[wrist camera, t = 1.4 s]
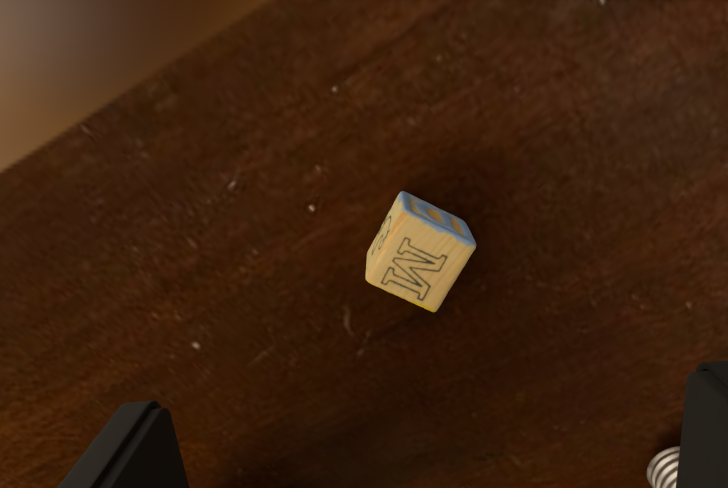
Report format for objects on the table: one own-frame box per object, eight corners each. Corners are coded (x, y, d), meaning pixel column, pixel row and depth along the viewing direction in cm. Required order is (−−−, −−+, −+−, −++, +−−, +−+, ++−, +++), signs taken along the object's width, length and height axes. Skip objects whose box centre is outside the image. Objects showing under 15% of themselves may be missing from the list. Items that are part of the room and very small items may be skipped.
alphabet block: (467, 221, 21) (479, 245, 18) (430, 284, 22) (436, 316, 19) (400, 188, 21) (402, 207, 18) (366, 253, 22) (362, 281, 19)
